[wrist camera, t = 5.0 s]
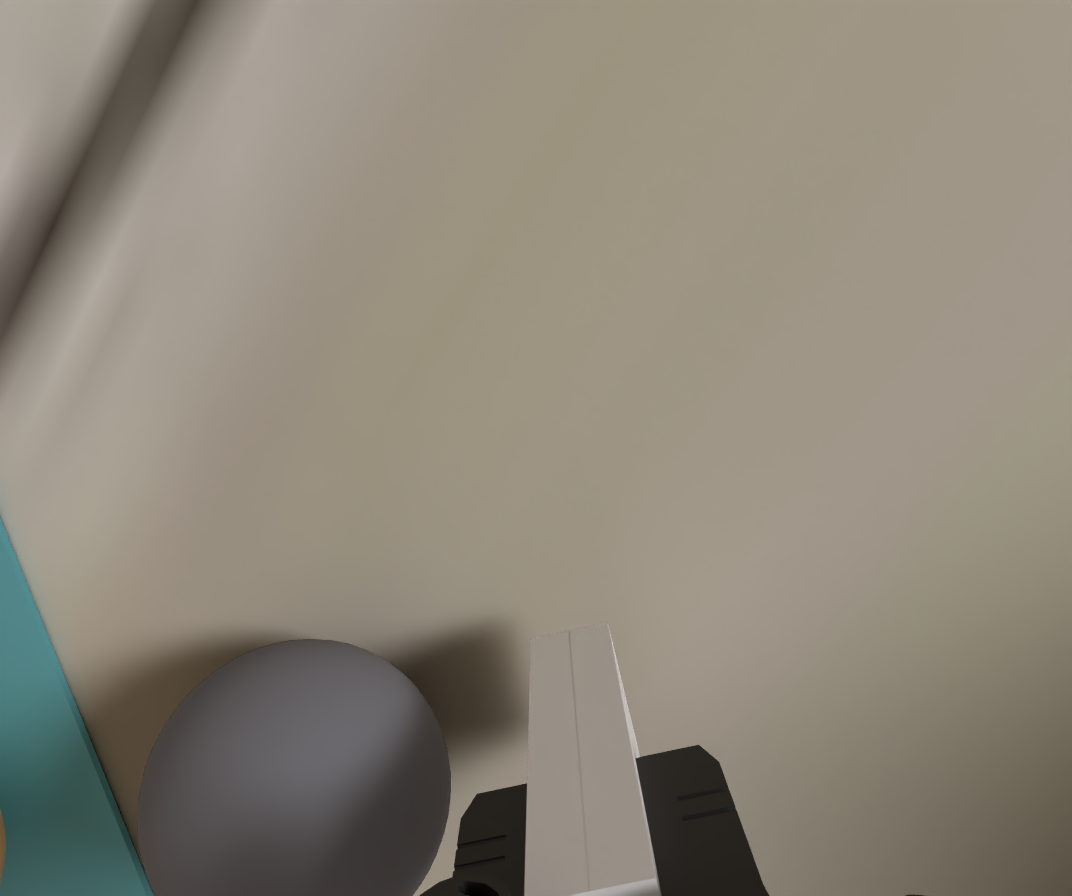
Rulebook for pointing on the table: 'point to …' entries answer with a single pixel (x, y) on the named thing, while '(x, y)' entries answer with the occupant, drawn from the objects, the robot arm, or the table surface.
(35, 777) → the teal mark
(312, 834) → the charcoal ball
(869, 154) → the table surface
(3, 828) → the orange ball
